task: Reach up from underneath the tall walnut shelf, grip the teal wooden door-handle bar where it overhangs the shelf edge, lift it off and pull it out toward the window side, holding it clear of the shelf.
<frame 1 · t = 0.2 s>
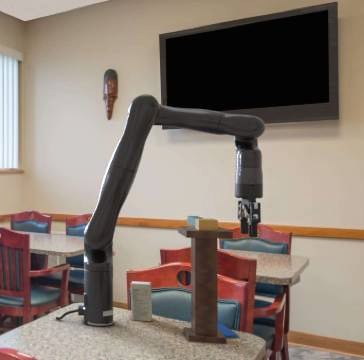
hand: (248, 235, 150), 29 cm above the table, tool pointing down, fingers open, 8 cm apart
shelf stand: (204, 337, 144), on the table
cosmetic box: (141, 319, 163), on the table
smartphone: (215, 330, 152), on the table, touching shelf stand
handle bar: (199, 226, 150), point 32 cm above the table, touching shelf stand
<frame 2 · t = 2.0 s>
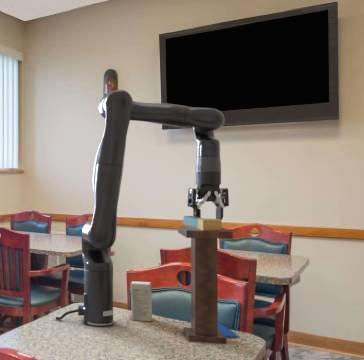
hand: (208, 219, 161), 33 cm above the table, tool pointing down, fingers open, 8 cm apart
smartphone: (215, 331, 152), on the table
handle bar: (198, 226, 150), point 32 cm above the table, touching gripper, shelf stand
everything else where it was.
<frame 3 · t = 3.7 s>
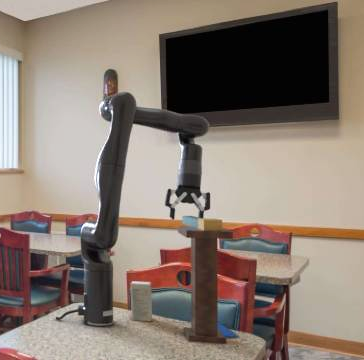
hand: (185, 220, 168), 32 cm above the table, tool pointing down, fingers open, 8 cm apart
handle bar: (198, 226, 150), point 32 cm above the table, touching shelf stand
everything else where it was.
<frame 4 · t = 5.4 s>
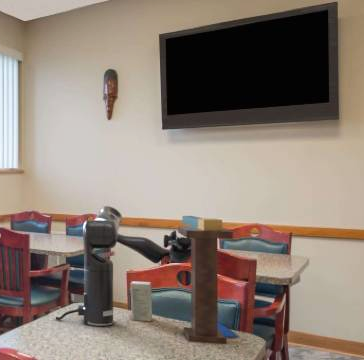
hand: (188, 233, 167), 28 cm above the table, tool pointing upward, fingers open, 8 cm apart
nothing on the table moved.
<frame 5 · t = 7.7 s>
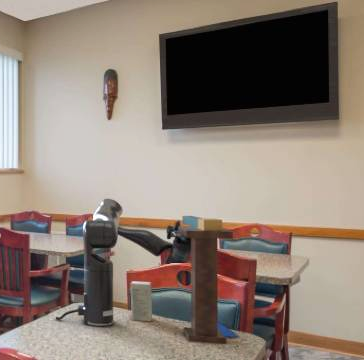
hand: (192, 223, 159), 32 cm above the table, tool pointing upward, fingers open, 8 cm apart
nothing on the table moved.
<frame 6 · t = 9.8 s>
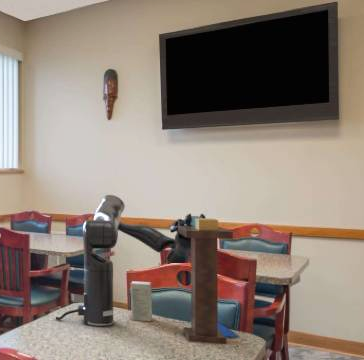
hand: (196, 216, 155), 35 cm above the table, tool pointing upward, fingers closed on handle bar, 3 cm apart
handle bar: (199, 226, 150), point 32 cm above the table, touching gripper, shelf stand
everything else where it was.
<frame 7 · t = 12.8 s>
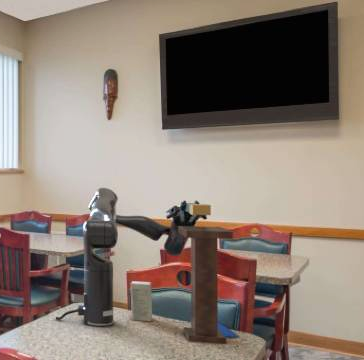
hand: (190, 203, 163), 39 cm above the table, tool pointing upward, fingers closed on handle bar, 3 cm apart
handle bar: (193, 212, 158), point 36 cm above the table, touching gripper
everything else where it was.
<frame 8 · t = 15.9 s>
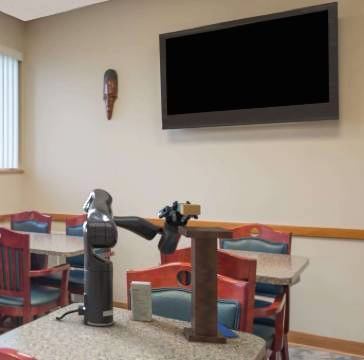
hand: (182, 203, 167), 38 cm above the table, tool pointing upward, fingers closed on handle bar, 3 cm apart
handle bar: (184, 212, 162), point 36 cm above the table, touching gripper
everything else where it was.
at the end: the gripper is holding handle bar; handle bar touching gripper; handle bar moved 13.2 cm from its start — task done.
